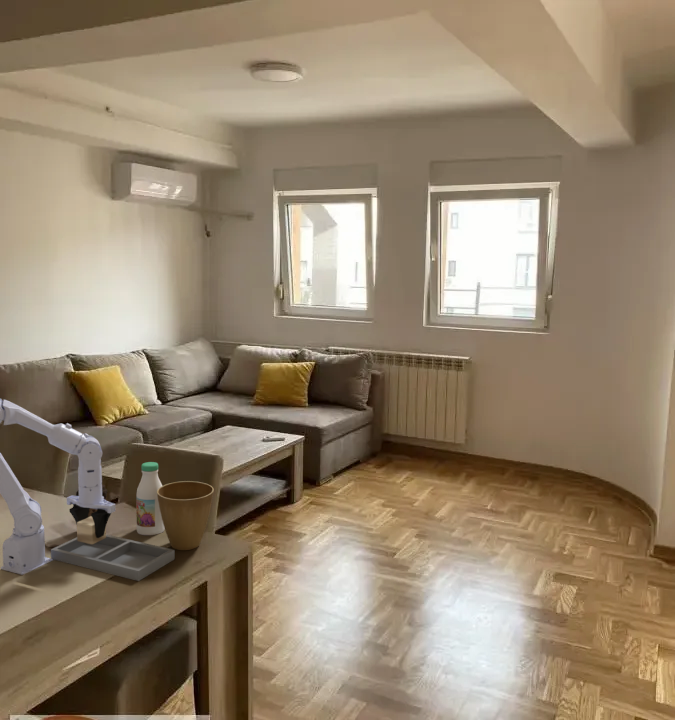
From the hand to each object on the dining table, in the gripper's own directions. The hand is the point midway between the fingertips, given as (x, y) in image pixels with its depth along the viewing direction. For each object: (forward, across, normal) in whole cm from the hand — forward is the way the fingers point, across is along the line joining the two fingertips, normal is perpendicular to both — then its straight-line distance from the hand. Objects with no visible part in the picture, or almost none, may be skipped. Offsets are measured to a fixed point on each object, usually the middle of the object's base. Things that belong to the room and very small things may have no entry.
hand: (91, 534), depth 182 cm
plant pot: (+6, -18, -16) cm, 25 cm away
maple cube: (+1, 0, 0) cm, 1 cm away
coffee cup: (+6, +12, -13) cm, 19 cm away
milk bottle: (+6, -3, -20) cm, 21 cm away
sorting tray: (+6, -7, 0) cm, 9 cm away
